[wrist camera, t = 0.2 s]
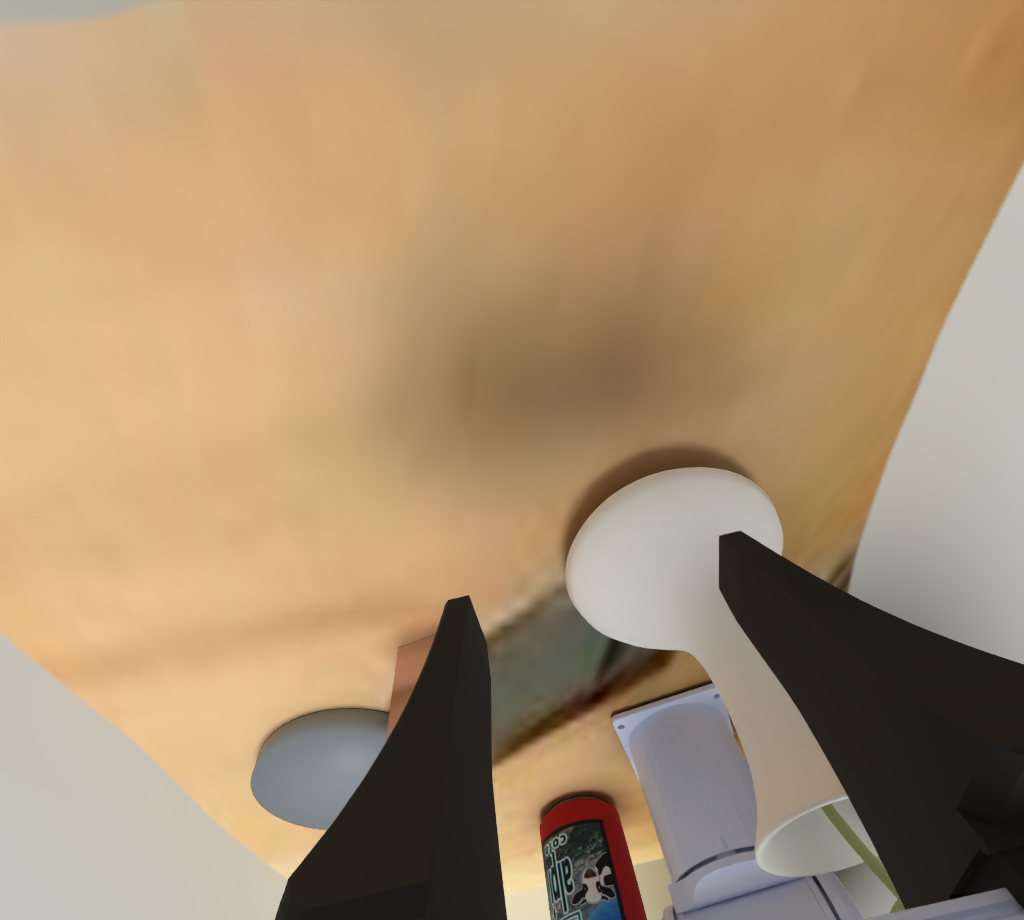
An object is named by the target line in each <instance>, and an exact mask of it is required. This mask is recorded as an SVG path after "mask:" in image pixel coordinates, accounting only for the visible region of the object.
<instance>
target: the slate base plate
mask: <svg viewBox="0 0 1024 920" xmlns="http://www.w3.org/2000/svg"><path fill="white" fill-rule="evenodd" d="M388 720H389V713H385V712H380V711H375V710H367V709H335V710H326V711H321V712H316V713H312V714H309V715H305V716H302V717H300V718H297V719H295V720H292V721H290V722H288V723H287V724H285V725H283V726H281V727H280V728H279V729H277V730H276V731H274V732H273V733H272V734H271V735H270V736H269V737H268V739H267V740H266V741H265V743H264V744H263V747H262V749H261V751H260V754H259V757H258V759H257V762H256V765H255V767H254V770H253V773H252V777H251V789H252V793H253V795H254V797H255V798H256V800H257V801H258V803H259V804H260V805H261V806H262V807H263V808H264V809H266V810H267V811H268V812H270V813H271V814H273V815H274V816H276V817H278V818H280V819H282V820H285V821H287V822H290V823H293V824H296V825H300V826H303V827H308V828H313V829H321V830H328V828H329V827H330V826H331V824H332V823H333V822H334V820H335V819H336V818H337V816H338V815H339V813H340V812H341V810H342V809H343V808H344V806H345V805H346V803H347V802H348V800H349V799H350V797H351V796H352V795H353V793H354V792H355V790H356V789H357V787H358V786H359V785H360V783H361V782H362V780H363V779H364V777H365V776H366V774H367V772H368V771H369V769H370V768H371V766H372V764H373V763H374V761H375V759H376V758H377V756H378V754H379V753H380V751H381V750H382V748H383V746H384V745H385V742H386V735H387V728H388Z"/></svg>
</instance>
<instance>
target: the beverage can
mask: <svg viewBox="0 0 1024 920" xmlns="http://www.w3.org/2000/svg"><path fill="white" fill-rule="evenodd" d="M540 836H541V844H542V853H543V861H544V869H545V877H546V885H547V892H548V900H549V909H550V916H551V920H647V918H646V914H645V910H644V906H643V902H642V899H641V895H640V891H639V887H638V883H637V880H636V876H635V872H634V869H633V865H632V861H631V857H630V854H629V850H628V846H627V843H626V839H625V836H624V832H623V828H622V825H621V821H620V817H619V814H618V812H617V810H616V809H615V808H614V807H613V806H612V805H610V804H608V803H606V802H603V801H601V800H600V799H598V798H594V797H575V798H571V799H568V800H565V801H562V802H560V803H559V804H557V805H556V806H554V807H553V808H552V810H551V811H550V812H549V813H548V814H547V815H546V816H545V818H544V819H543V820H542V822H541V824H540Z"/></svg>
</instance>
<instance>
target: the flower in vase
mask: <svg viewBox="0 0 1024 920" xmlns="http://www.w3.org/2000/svg"><path fill="white" fill-rule="evenodd" d="M736 531H742V532H744V533H745V534H747V535H749V536H750V537H752V538H753V539H755V540H757V541H758V542H760V543H761V544H763V545H765V546H766V547H768V548H769V549H771V550H773V551H774V552H776V553H778V554H779V555H781V556H782V551H783V533H782V527H781V524H780V521H779V518H778V515H777V512H776V509H775V507H774V505H773V503H772V501H771V500H770V498H769V496H768V495H767V494H766V493H765V492H764V491H763V490H762V488H761V487H759V486H758V485H757V484H755V483H754V482H753V481H751V480H749V479H748V478H746V477H744V476H742V475H740V474H737V473H734V472H731V471H728V470H723V469H718V468H708V467H691V468H677V469H672V470H666V471H662V472H658V473H655V474H651V475H648V476H646V477H644V478H641V479H639V480H636V481H634V482H632V483H631V484H629V485H627V486H625V487H623V488H621V489H620V490H618V491H617V492H615V493H614V494H613V495H611V496H610V497H609V498H607V499H606V500H605V501H604V502H603V503H602V504H600V505H599V506H598V507H597V509H596V510H595V511H594V512H593V513H592V514H591V515H590V516H589V518H588V519H587V520H586V522H585V523H584V524H583V526H582V527H581V529H580V530H579V532H578V534H577V535H576V537H575V539H574V541H573V543H572V545H571V548H570V551H569V553H568V557H567V562H566V570H565V579H566V587H567V590H568V594H569V597H570V599H571V601H572V603H573V605H574V606H575V607H576V609H577V610H578V611H579V613H580V614H581V615H582V616H583V617H584V618H585V619H586V620H587V621H588V622H589V623H590V624H591V625H592V626H593V627H594V628H595V629H596V630H598V631H599V632H601V633H602V634H604V635H606V636H608V637H610V638H612V639H615V640H618V641H621V642H624V643H627V644H631V645H634V646H638V647H643V648H651V649H663V650H682V651H686V652H689V653H690V654H691V655H692V656H694V657H695V658H696V659H697V660H698V661H699V663H700V664H701V665H702V666H703V668H704V669H705V670H706V672H707V673H708V675H709V677H710V678H711V680H712V682H713V683H714V685H715V687H716V688H717V690H718V692H719V694H720V696H721V698H722V700H723V702H724V704H725V706H726V708H727V711H728V713H729V715H730V717H731V719H732V722H733V724H734V726H735V729H736V731H737V734H738V736H739V739H740V741H741V744H742V746H743V749H744V752H745V755H746V759H747V762H748V765H749V768H750V771H751V775H752V779H753V785H754V791H755V796H756V802H757V831H756V841H755V858H756V862H757V864H758V865H759V867H760V868H762V869H763V870H765V871H767V872H769V873H772V874H775V875H780V876H788V877H803V876H813V875H820V874H825V873H830V872H834V871H838V870H841V869H845V868H848V867H851V866H854V865H857V864H860V863H862V862H865V863H866V864H867V865H868V867H869V868H870V869H871V870H872V871H873V872H874V873H875V874H876V876H877V877H878V878H879V879H880V880H881V881H882V882H883V883H884V884H885V886H886V887H887V888H888V889H889V890H890V891H891V892H892V893H893V894H894V895H895V897H896V898H897V899H898V900H897V901H896V902H895V904H894V905H893V907H892V909H891V912H890V913H894V912H898V911H903V910H905V908H904V906H903V904H902V902H901V900H900V898H899V895H898V893H897V891H896V889H895V887H894V885H893V883H892V881H891V879H890V877H889V875H888V873H887V871H886V869H885V867H884V866H883V865H882V864H881V863H880V862H879V861H878V859H877V858H876V856H878V853H877V851H876V849H875V847H874V845H873V843H872V841H871V839H870V837H869V835H868V834H867V832H866V830H865V828H864V826H863V824H862V822H861V820H860V819H859V817H858V815H857V813H856V811H855V809H854V807H853V805H852V803H851V802H850V800H849V798H848V796H847V794H846V792H845V790H844V788H843V787H842V785H841V783H840V781H839V779H838V778H837V776H836V774H835V772H834V771H833V769H832V767H831V765H830V763H829V762H828V760H827V758H826V756H825V754H824V753H823V751H822V749H821V747H820V746H819V744H818V742H817V740H816V739H815V737H814V735H813V734H812V732H811V730H810V728H809V727H808V725H807V723H806V722H805V720H804V718H803V716H802V715H801V713H800V711H799V710H798V708H797V707H796V705H795V704H794V702H793V701H792V699H791V698H790V696H789V695H788V693H787V692H786V690H785V689H784V688H783V686H782V685H781V683H780V682H779V681H778V679H777V678H776V676H775V675H774V674H773V672H772V671H771V669H770V668H769V666H768V665H767V664H766V662H765V661H764V659H763V658H762V657H761V655H760V654H759V652H758V651H757V650H756V648H755V647H754V645H753V644H752V643H751V641H750V640H749V638H748V637H747V635H746V634H745V633H744V631H743V630H742V628H741V627H740V625H739V624H738V623H737V621H736V619H735V617H734V616H733V614H732V612H731V610H730V609H729V607H728V605H727V603H726V601H725V599H724V597H723V595H722V593H721V592H720V590H719V536H720V535H724V534H728V533H732V532H736Z"/></svg>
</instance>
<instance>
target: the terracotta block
mask: <svg viewBox="0 0 1024 920" xmlns="http://www.w3.org/2000/svg"><path fill="white" fill-rule="evenodd" d="M434 638H435V635H433V636H430V637H427V638H425V639H422V640H419V641H416V642H413V643H410V644H408V645H405V646H402V647H399V648H398V654H397V662H396V669H395V676H394V684H393V691H392V698H391V706H390V713H389V720H388V728H387V735H386V741H387V739H388V738H389V736H390V734H391V732H392V730H393V729H394V727H395V725H396V723H397V721H398V719H399V717H400V716H401V714H402V712H403V710H404V708H405V706H406V704H407V702H408V699H409V697H410V695H411V693H412V691H413V689H414V686H415V684H416V682H417V680H418V678H419V675H420V673H421V671H422V668H423V666H424V663H425V661H426V658H427V656H428V653H429V651H430V648H431V646H432V643H433V640H434ZM385 743H386V742H385Z"/></svg>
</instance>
